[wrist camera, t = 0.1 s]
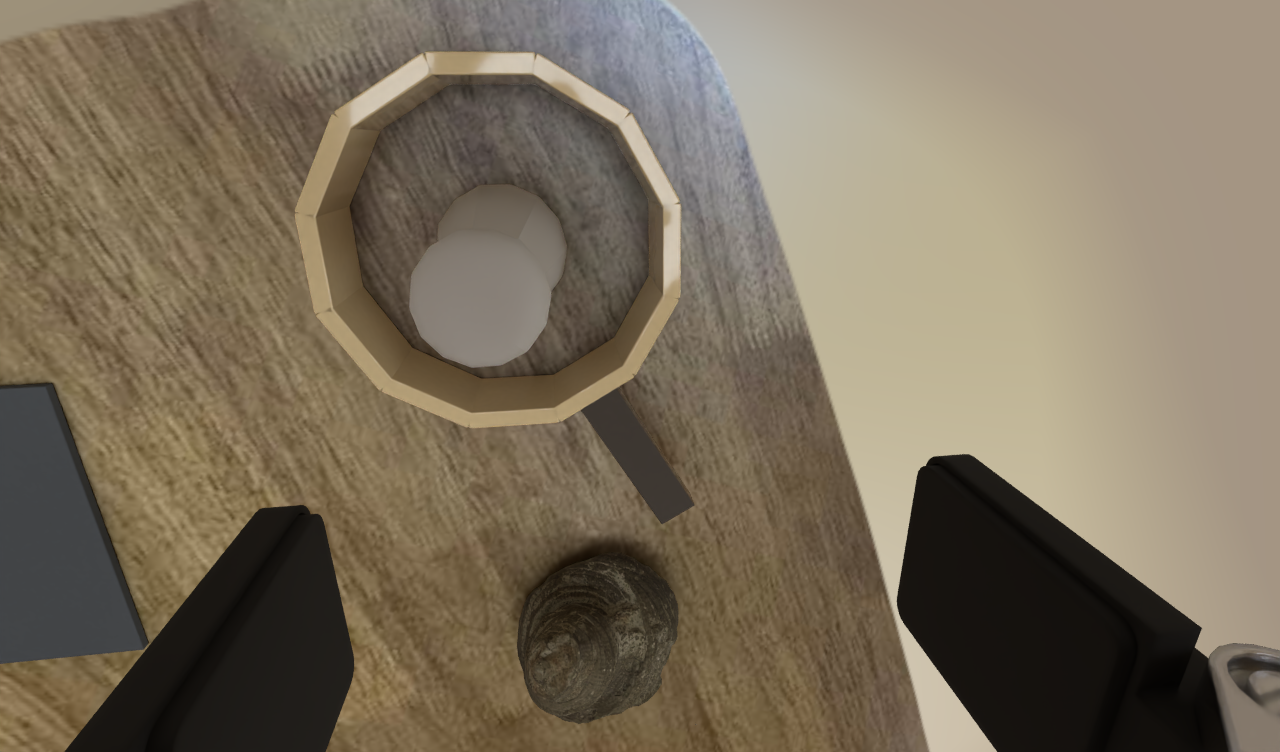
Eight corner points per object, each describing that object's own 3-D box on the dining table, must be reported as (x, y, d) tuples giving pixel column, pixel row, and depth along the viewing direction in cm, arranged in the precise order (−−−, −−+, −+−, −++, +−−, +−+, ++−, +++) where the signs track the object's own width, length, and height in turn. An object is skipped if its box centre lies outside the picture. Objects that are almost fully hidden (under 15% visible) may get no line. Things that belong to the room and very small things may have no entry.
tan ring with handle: (306, 64, 27) (260, 50, 23) (684, 65, 29) (706, 52, 25) (385, 504, 35) (362, 554, 30) (679, 481, 37) (695, 525, 32)
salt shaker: (452, 303, 31) (389, 405, 19) (436, 183, 29) (354, 213, 17) (570, 296, 32) (580, 391, 20) (562, 178, 30) (568, 204, 18)
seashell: (670, 541, 31) (469, 597, 30) (739, 800, 28) (523, 867, 28) (660, 532, 42) (513, 572, 41) (709, 718, 39) (554, 763, 39)
